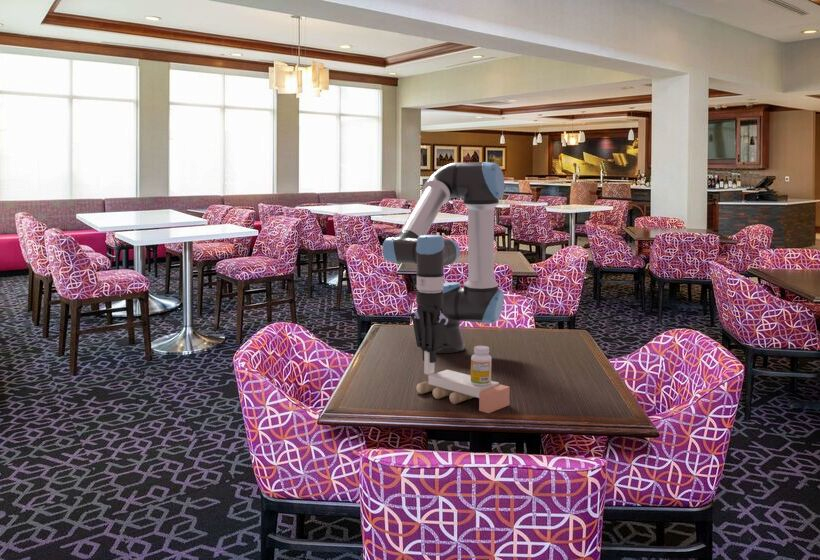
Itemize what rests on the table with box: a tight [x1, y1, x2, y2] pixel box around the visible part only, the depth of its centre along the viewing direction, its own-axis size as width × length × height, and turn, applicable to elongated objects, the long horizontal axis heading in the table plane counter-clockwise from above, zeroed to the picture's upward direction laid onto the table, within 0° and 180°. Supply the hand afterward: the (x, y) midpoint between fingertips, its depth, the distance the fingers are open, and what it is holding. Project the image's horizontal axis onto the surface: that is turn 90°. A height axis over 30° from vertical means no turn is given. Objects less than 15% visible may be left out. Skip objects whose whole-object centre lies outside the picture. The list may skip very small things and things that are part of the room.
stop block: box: [478, 383, 511, 414], centre depth 177 cm, size 3×9×5 cm, turn 137°
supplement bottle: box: [470, 345, 493, 386], centre depth 179 cm, size 5×5×10 cm
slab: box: [427, 369, 500, 399], centre depth 184 cm, size 18×8×2 cm, turn 46°
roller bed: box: [416, 380, 475, 405], centre depth 188 cm, size 15×10×3 cm, turn 46°
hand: (429, 373), depth 193 cm, fingers closed
